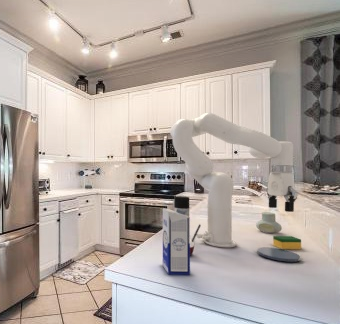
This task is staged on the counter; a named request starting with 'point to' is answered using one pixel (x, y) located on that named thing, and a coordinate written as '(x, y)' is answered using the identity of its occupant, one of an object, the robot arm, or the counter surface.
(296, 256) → the plate
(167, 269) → the milk carton
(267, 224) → the air freshener
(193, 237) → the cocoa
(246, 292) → the counter surface
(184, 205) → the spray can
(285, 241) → the sponge
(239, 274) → the counter surface
